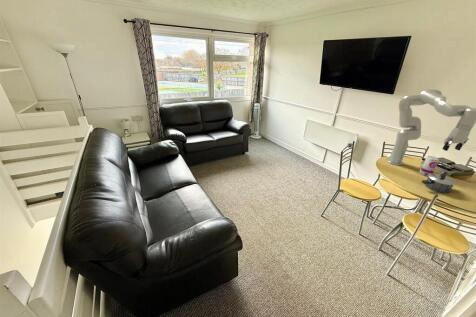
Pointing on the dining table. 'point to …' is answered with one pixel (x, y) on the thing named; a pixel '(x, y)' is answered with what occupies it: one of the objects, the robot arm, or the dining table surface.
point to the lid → (441, 178)
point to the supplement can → (429, 165)
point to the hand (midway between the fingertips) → (450, 149)
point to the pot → (437, 186)
